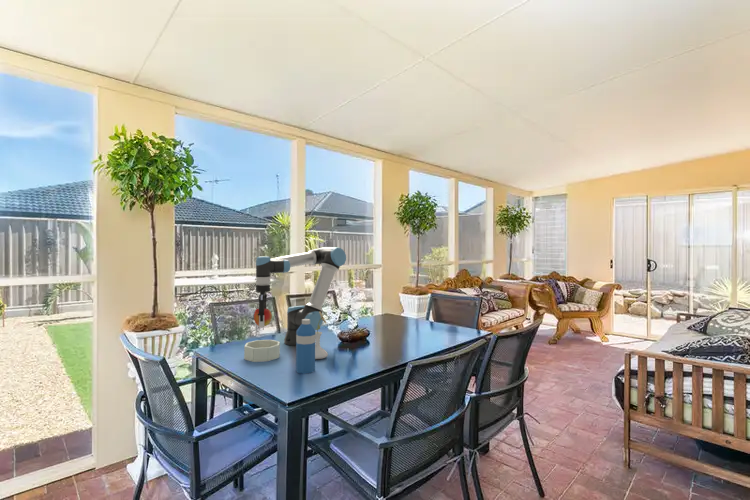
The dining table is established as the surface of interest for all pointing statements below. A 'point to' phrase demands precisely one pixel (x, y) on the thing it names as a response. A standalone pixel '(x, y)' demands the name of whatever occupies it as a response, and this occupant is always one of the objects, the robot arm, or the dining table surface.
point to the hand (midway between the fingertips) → (262, 325)
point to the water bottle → (305, 348)
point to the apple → (266, 317)
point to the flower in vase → (319, 351)
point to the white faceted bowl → (262, 350)
